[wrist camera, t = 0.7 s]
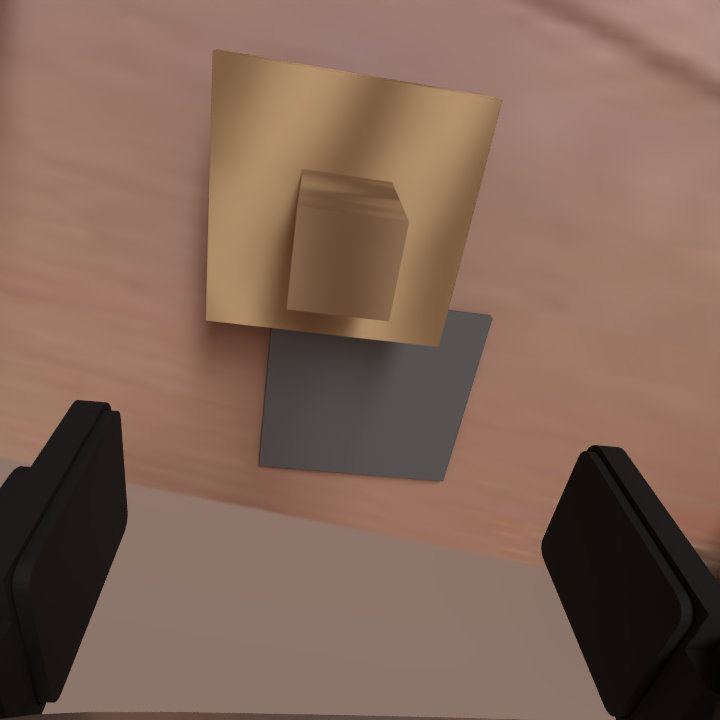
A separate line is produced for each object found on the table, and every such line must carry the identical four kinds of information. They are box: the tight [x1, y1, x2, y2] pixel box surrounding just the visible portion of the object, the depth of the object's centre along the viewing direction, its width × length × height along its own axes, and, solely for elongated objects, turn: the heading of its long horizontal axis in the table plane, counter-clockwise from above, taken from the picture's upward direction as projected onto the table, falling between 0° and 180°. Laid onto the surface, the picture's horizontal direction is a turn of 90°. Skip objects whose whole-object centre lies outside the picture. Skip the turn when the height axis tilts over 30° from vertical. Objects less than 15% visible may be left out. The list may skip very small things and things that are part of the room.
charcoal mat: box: [259, 310, 492, 481], centre depth 40 cm, size 14×14×1 cm
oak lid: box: [206, 49, 502, 347], centre depth 24 cm, size 12×12×7 cm
